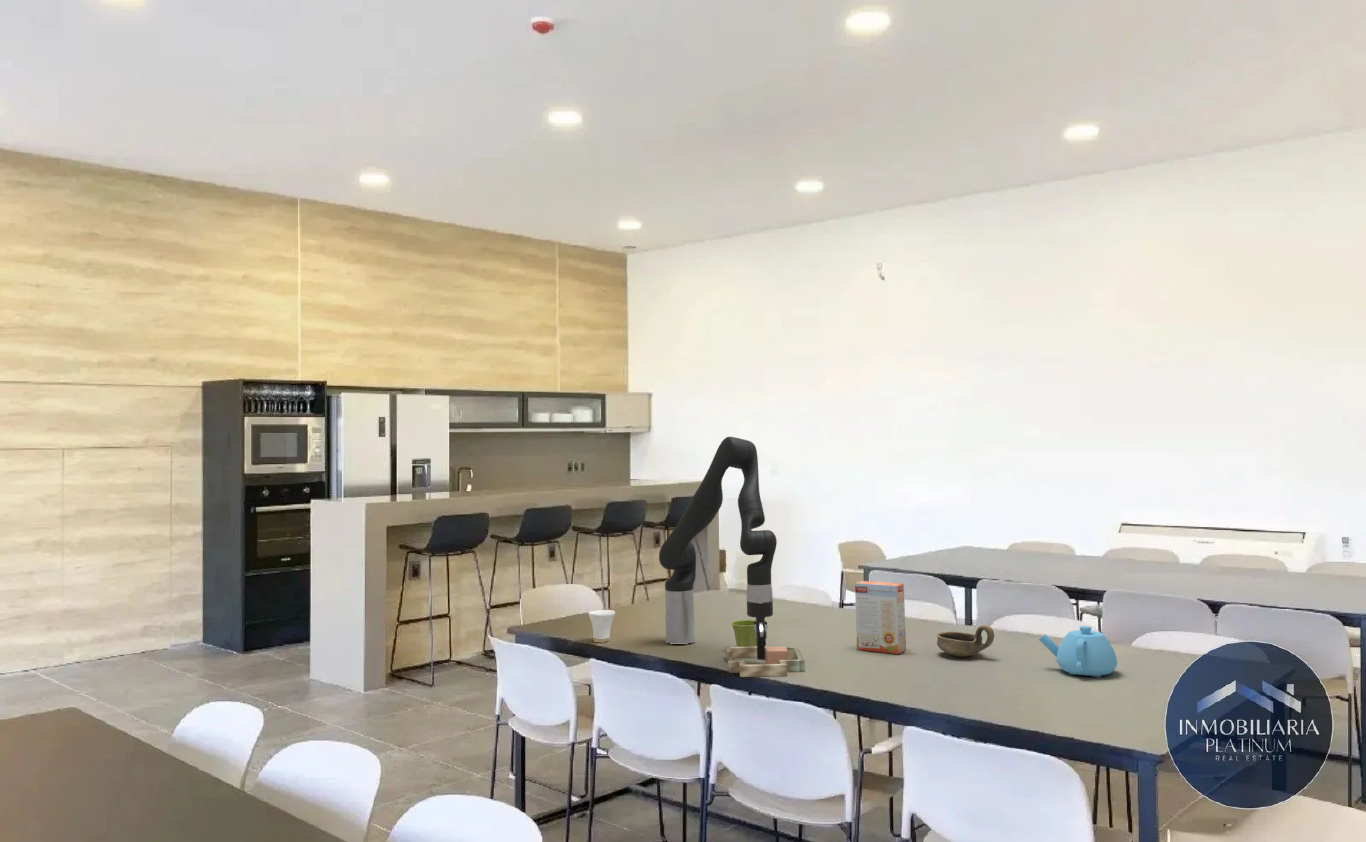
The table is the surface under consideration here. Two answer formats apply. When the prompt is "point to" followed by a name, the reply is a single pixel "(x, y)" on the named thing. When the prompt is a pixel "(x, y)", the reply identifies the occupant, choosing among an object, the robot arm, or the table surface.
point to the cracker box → (880, 617)
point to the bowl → (964, 642)
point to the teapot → (1083, 652)
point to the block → (775, 654)
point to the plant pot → (744, 633)
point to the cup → (601, 623)
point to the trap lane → (758, 670)
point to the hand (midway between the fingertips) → (761, 659)
